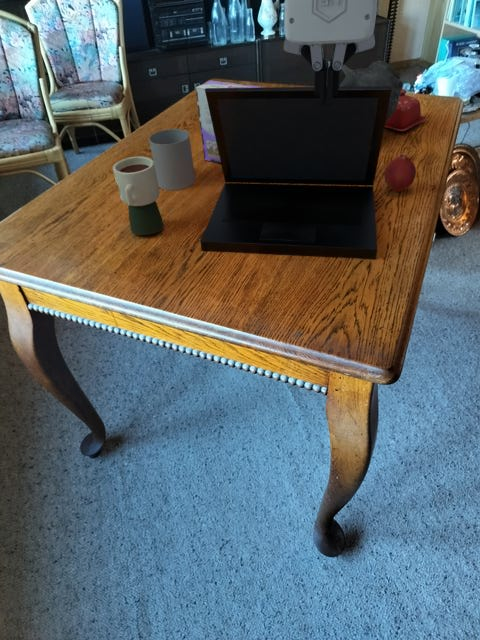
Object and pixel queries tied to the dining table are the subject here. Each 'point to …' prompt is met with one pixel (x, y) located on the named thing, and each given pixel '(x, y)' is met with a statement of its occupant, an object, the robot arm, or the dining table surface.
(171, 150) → the cup
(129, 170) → the character mug
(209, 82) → the candy box
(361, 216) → the laptop
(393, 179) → the onion
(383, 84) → the narwhal figurine
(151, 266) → the dining table surface
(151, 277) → the dining table surface
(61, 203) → the dining table surface
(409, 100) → the butter dish
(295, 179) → the laptop screen
